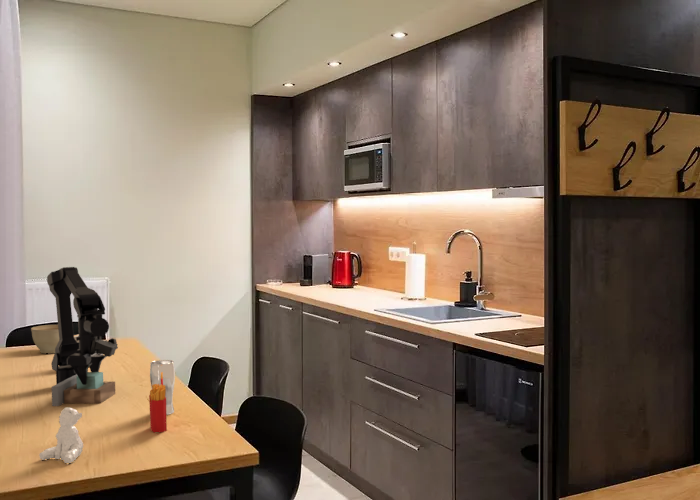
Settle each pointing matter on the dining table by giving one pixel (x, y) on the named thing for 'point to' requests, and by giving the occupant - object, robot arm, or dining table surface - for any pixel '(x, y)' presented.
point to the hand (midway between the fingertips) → (89, 381)
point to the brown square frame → (89, 394)
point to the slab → (61, 390)
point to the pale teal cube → (91, 381)
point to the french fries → (158, 408)
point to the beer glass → (164, 380)
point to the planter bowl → (46, 337)
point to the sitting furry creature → (66, 438)
